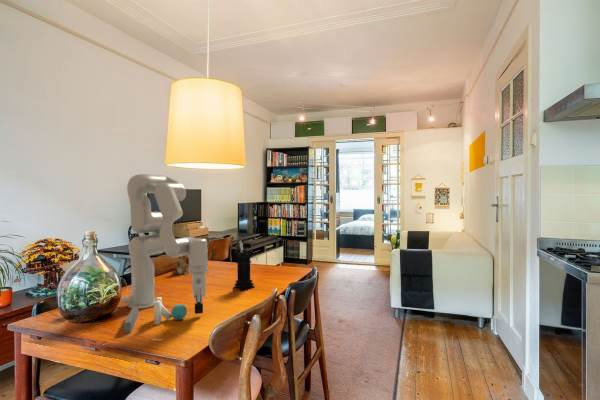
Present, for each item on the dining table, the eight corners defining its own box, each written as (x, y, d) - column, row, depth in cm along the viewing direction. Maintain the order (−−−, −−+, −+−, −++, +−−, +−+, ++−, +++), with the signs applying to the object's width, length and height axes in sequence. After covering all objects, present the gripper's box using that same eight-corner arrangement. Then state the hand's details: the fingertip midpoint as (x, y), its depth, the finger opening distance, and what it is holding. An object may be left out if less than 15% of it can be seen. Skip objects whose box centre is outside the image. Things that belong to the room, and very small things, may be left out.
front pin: (166, 321, 131) (153, 305, 129) (167, 319, 133) (153, 303, 132) (172, 317, 132) (158, 301, 130) (172, 315, 134) (159, 299, 132)
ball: (186, 304, 131) (188, 318, 132) (184, 300, 137) (187, 314, 137) (170, 308, 129) (173, 323, 129) (169, 305, 134) (172, 319, 135)
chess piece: (244, 285, 183) (244, 249, 183) (254, 287, 178) (254, 250, 178) (233, 288, 177) (233, 251, 177) (243, 290, 172) (242, 252, 172)
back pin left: (155, 320, 132) (155, 299, 132) (156, 318, 134) (155, 297, 134) (161, 319, 133) (161, 298, 133) (162, 317, 135) (162, 296, 135)
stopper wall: (124, 333, 119) (124, 322, 119) (133, 316, 137) (132, 306, 136) (130, 332, 120) (130, 322, 120) (138, 315, 137) (138, 306, 137)
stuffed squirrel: (170, 274, 209) (170, 254, 209) (184, 269, 222) (184, 250, 222) (183, 275, 206) (183, 254, 206) (197, 270, 220) (196, 251, 219)
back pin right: (154, 324, 127) (153, 303, 127) (154, 322, 130) (154, 301, 130) (160, 324, 128) (160, 302, 128) (161, 321, 130) (161, 300, 130)
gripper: (208, 271, 130) (209, 318, 130) (206, 264, 144) (207, 306, 144) (188, 273, 128) (189, 320, 128) (188, 265, 142) (189, 308, 142)
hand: (198, 312), depth 136 cm, fingers closed
